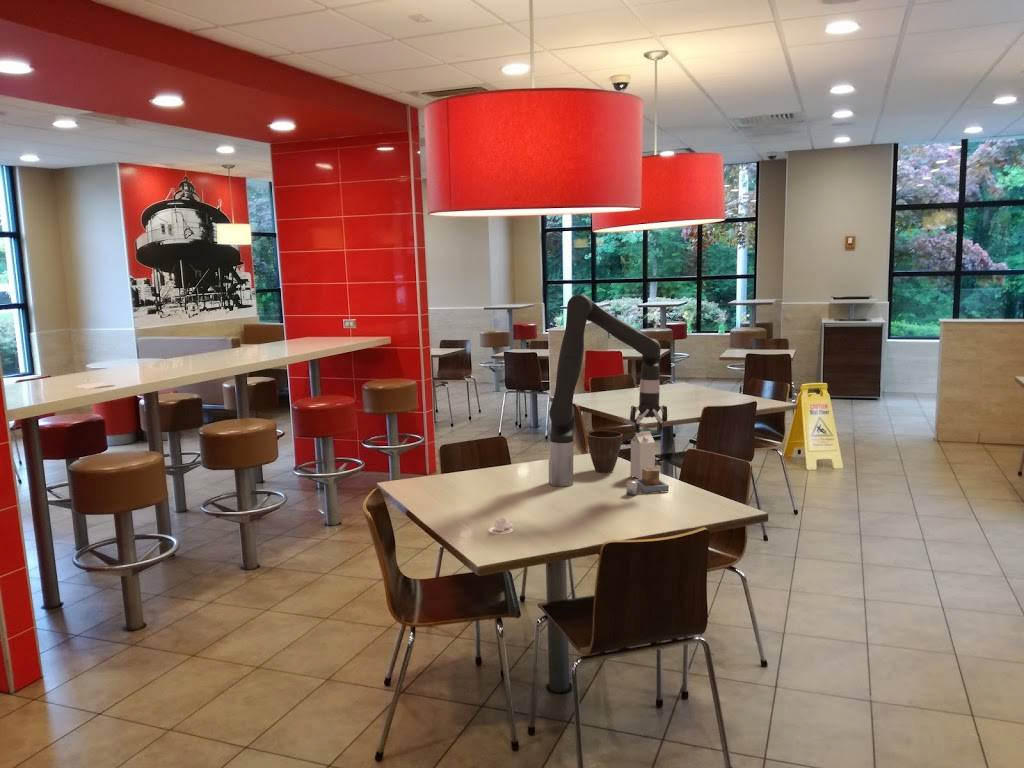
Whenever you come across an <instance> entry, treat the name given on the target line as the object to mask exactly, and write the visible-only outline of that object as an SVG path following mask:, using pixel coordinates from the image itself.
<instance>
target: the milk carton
mask: <svg viewBox="0 0 1024 768" xmlns="http://www.w3.org/2000/svg"><path fill="white" fill-rule="evenodd" d="M655 460H656V441H655V440H654V438H653V435H652V431H651V430H649V431H647V430H646V431H639V433H636V432H635V435H634V436H633V437H632V439H631V440H630V468H629V469H630V471H629V472H630V474H629V475H630V477H631V476H633V477H632V478H634V477H636V478H638V479H642V468H656V467H655V466H656V461H655ZM636 478H635V479H636Z"/></svg>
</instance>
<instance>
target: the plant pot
mask: <svg viewBox="0 0 1024 768" xmlns="http://www.w3.org/2000/svg"><path fill="white" fill-rule="evenodd" d="M586 438H587V440H586V441H587V445H588V450H589V451H588V452H589V454H590V458H591V462H592V465H593V468H594V470H595V472H596V473H600V474H608V473H609V472H610V473H612V471H614V470H615V467H616V464H617V462H618V459H619V454H620V451H621V445H622V440H623V433H621V432H618V431H613V430H593V431H589V432H587V433H586ZM610 473H609V474H610Z"/></svg>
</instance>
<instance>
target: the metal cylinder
mask: <svg viewBox="0 0 1024 768" xmlns="http://www.w3.org/2000/svg"><path fill="white" fill-rule="evenodd" d="M625 494H626V496H628V495H629V496H628V497H636V495H637V496H638V489H637V481H633V480H627V481H626V493H625Z"/></svg>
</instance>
